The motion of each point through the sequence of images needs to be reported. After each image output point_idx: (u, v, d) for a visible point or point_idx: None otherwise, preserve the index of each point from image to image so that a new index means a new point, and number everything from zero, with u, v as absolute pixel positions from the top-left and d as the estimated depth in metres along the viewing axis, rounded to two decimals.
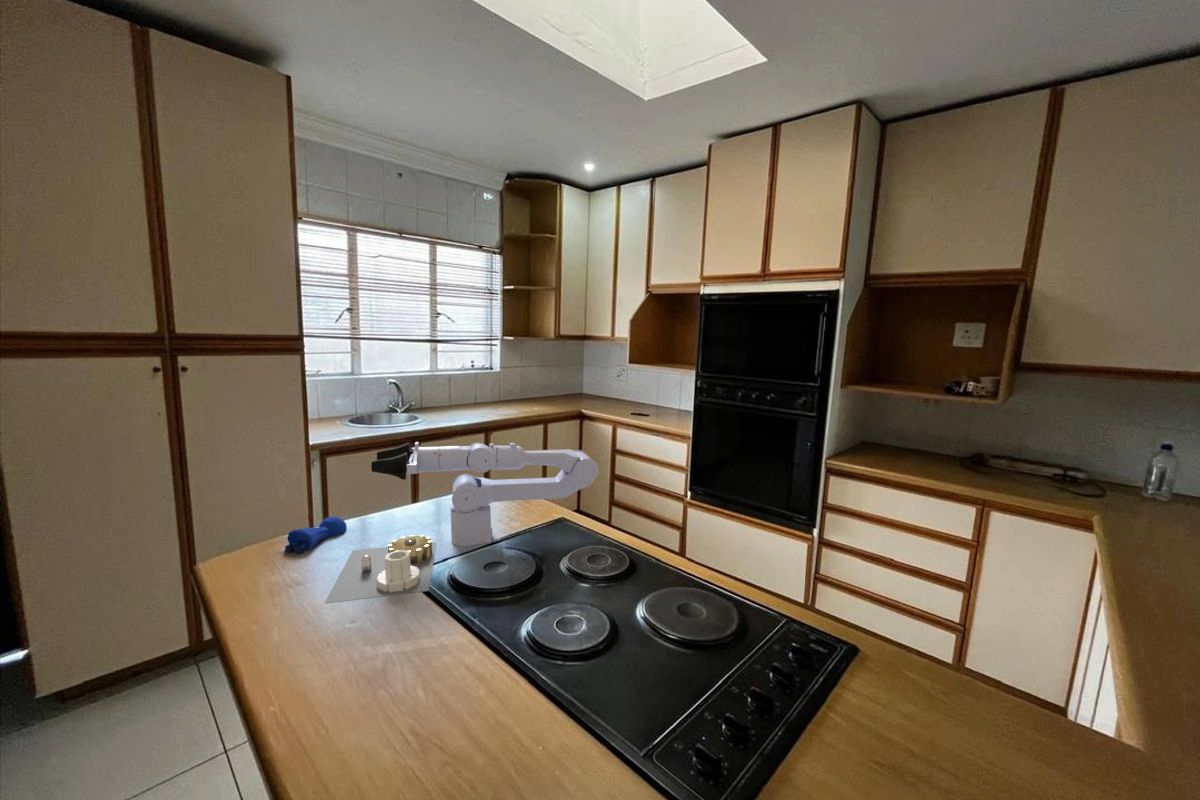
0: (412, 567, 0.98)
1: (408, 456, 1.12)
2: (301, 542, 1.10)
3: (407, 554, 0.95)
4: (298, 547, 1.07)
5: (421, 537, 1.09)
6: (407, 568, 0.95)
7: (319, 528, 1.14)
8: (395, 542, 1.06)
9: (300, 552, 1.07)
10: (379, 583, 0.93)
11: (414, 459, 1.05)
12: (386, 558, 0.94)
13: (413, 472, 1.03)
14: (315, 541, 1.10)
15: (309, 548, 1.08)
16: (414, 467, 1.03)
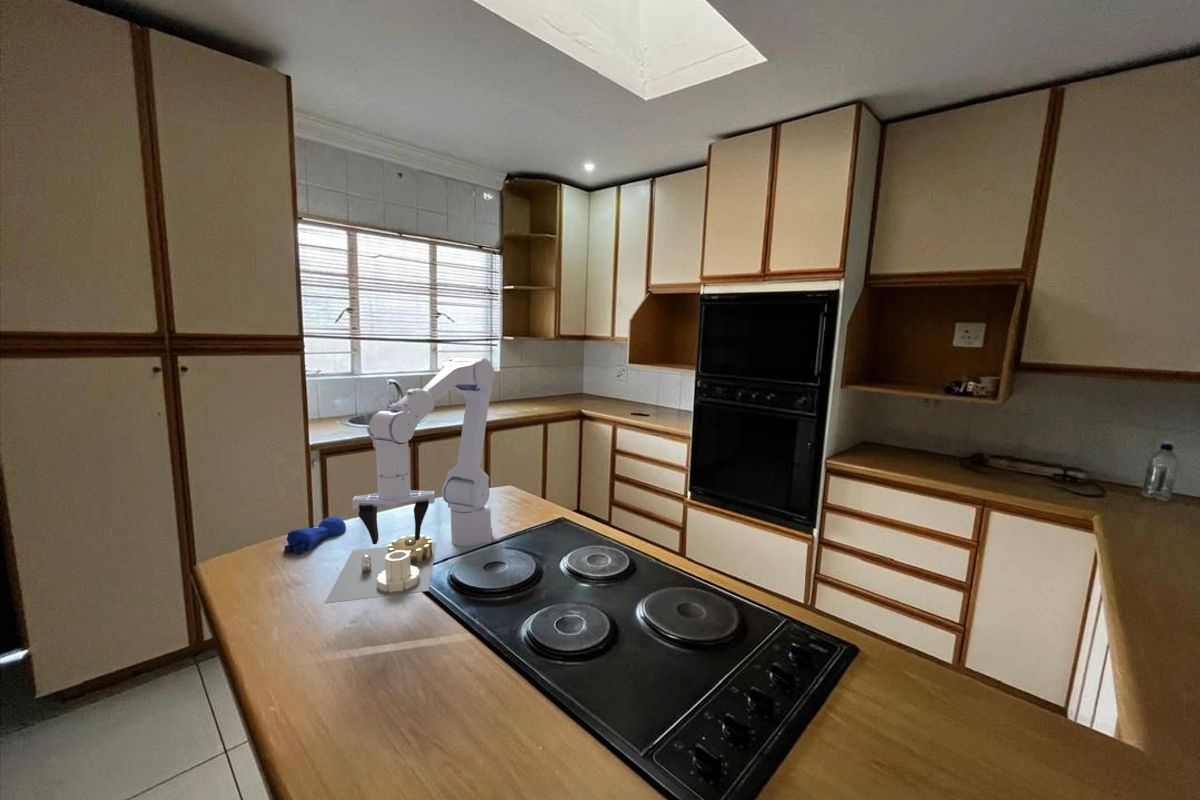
0: (412, 567, 0.98)
1: (374, 508, 0.93)
2: (300, 542, 1.10)
3: (407, 554, 0.95)
4: (298, 547, 1.07)
5: (421, 537, 1.09)
6: (407, 568, 0.95)
7: (318, 528, 1.13)
8: (395, 542, 1.06)
9: (300, 552, 1.07)
10: (379, 583, 0.93)
11: (420, 498, 0.93)
12: (386, 558, 0.94)
13: (434, 494, 0.96)
14: (315, 541, 1.10)
15: (309, 548, 1.08)
16: (433, 494, 0.95)
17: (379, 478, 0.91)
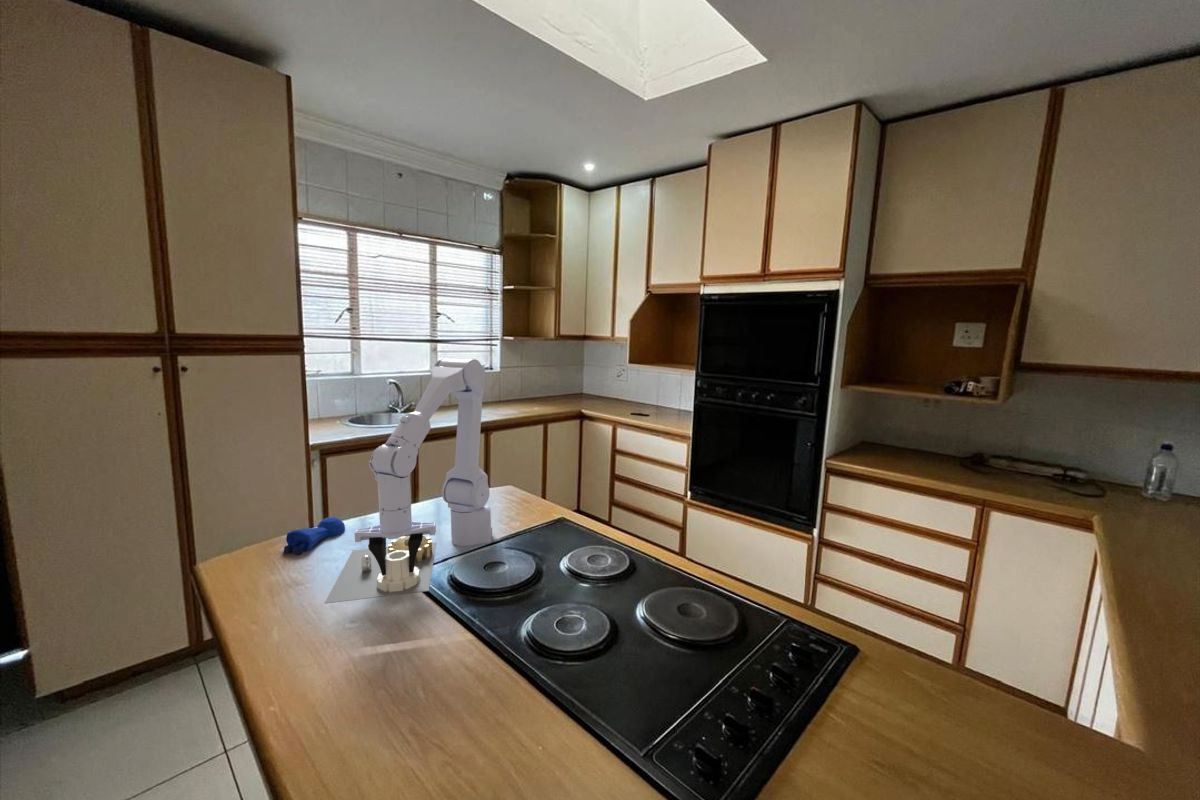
0: None
1: (384, 539, 0.94)
2: (300, 543, 1.10)
3: (407, 554, 0.95)
4: (297, 548, 1.06)
5: None
6: (407, 568, 0.95)
7: (318, 528, 1.13)
8: (395, 542, 1.06)
9: (299, 553, 1.07)
10: (379, 583, 0.93)
11: (421, 530, 0.94)
12: (386, 558, 0.94)
13: (435, 525, 0.97)
14: (314, 541, 1.10)
15: (308, 549, 1.08)
16: (435, 526, 0.96)
17: (381, 511, 0.91)
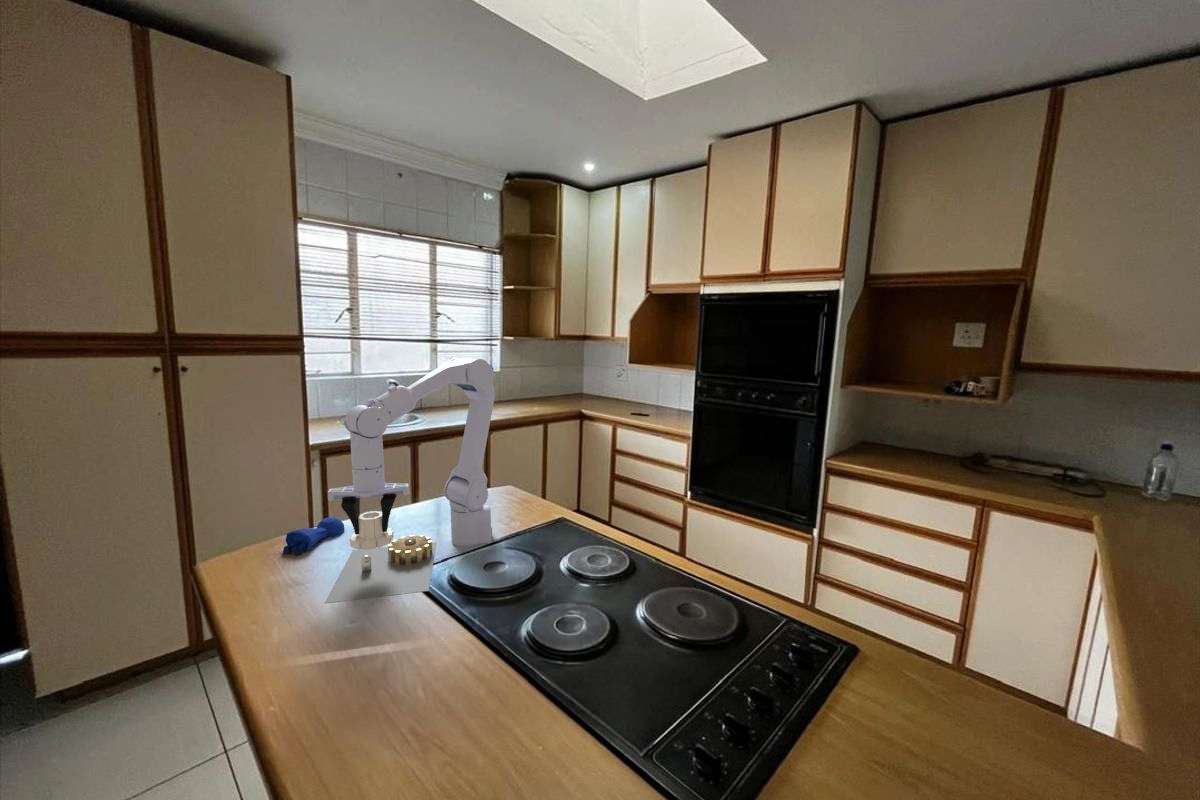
0: None
1: (357, 499, 0.96)
2: (299, 543, 1.10)
3: (380, 514, 0.97)
4: (297, 548, 1.06)
5: (421, 537, 1.09)
6: (380, 528, 0.97)
7: (317, 529, 1.13)
8: (395, 542, 1.06)
9: (299, 553, 1.06)
10: (352, 541, 0.95)
11: (394, 490, 0.96)
12: (359, 517, 0.96)
13: (408, 486, 0.99)
14: (313, 542, 1.09)
15: (308, 549, 1.08)
16: (408, 487, 0.98)
17: (354, 471, 0.93)
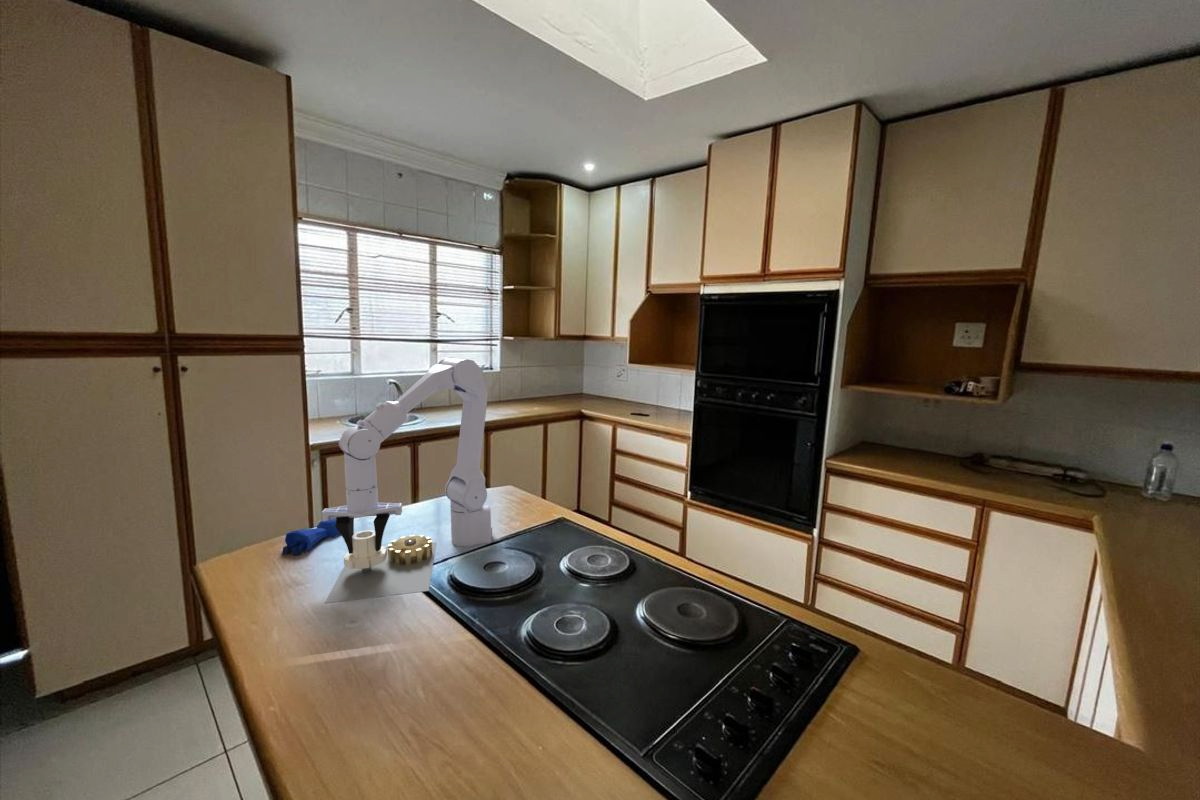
0: None
1: (351, 519, 0.98)
2: (299, 543, 1.10)
3: (374, 533, 0.99)
4: (296, 548, 1.06)
5: (421, 537, 1.09)
6: (373, 547, 0.98)
7: (317, 529, 1.13)
8: (395, 542, 1.06)
9: (298, 553, 1.06)
10: (346, 561, 0.96)
11: (387, 510, 0.98)
12: (353, 537, 0.97)
13: (401, 506, 1.00)
14: (313, 542, 1.09)
15: (307, 549, 1.08)
16: (401, 506, 0.99)
17: (347, 491, 0.95)
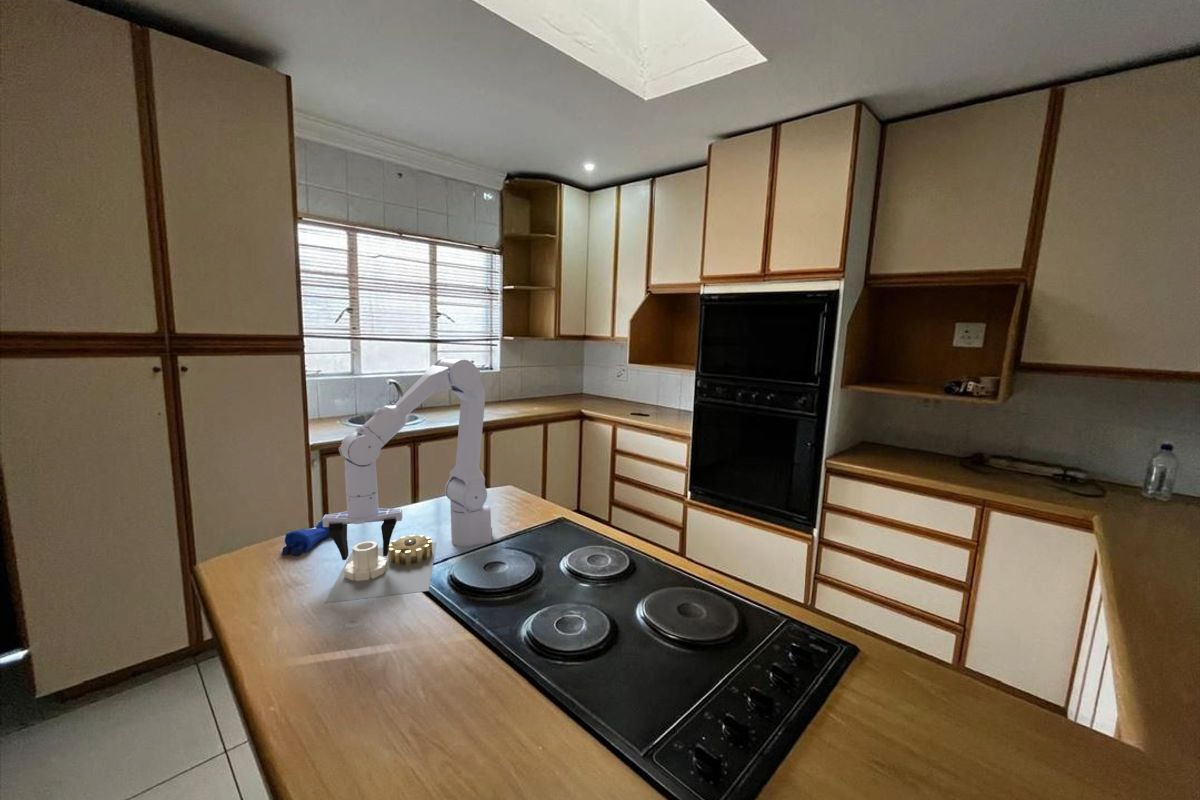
0: (380, 558, 1.02)
1: (344, 526, 0.98)
2: (298, 544, 1.09)
3: (374, 545, 0.99)
4: (296, 549, 1.06)
5: (421, 537, 1.09)
6: (374, 558, 0.99)
7: (316, 529, 1.13)
8: (395, 542, 1.06)
9: (298, 554, 1.06)
10: (346, 572, 0.97)
11: (387, 516, 0.98)
12: (353, 548, 0.98)
13: None
14: (313, 542, 1.09)
15: (307, 549, 1.08)
16: (401, 512, 1.00)
17: (348, 498, 0.95)
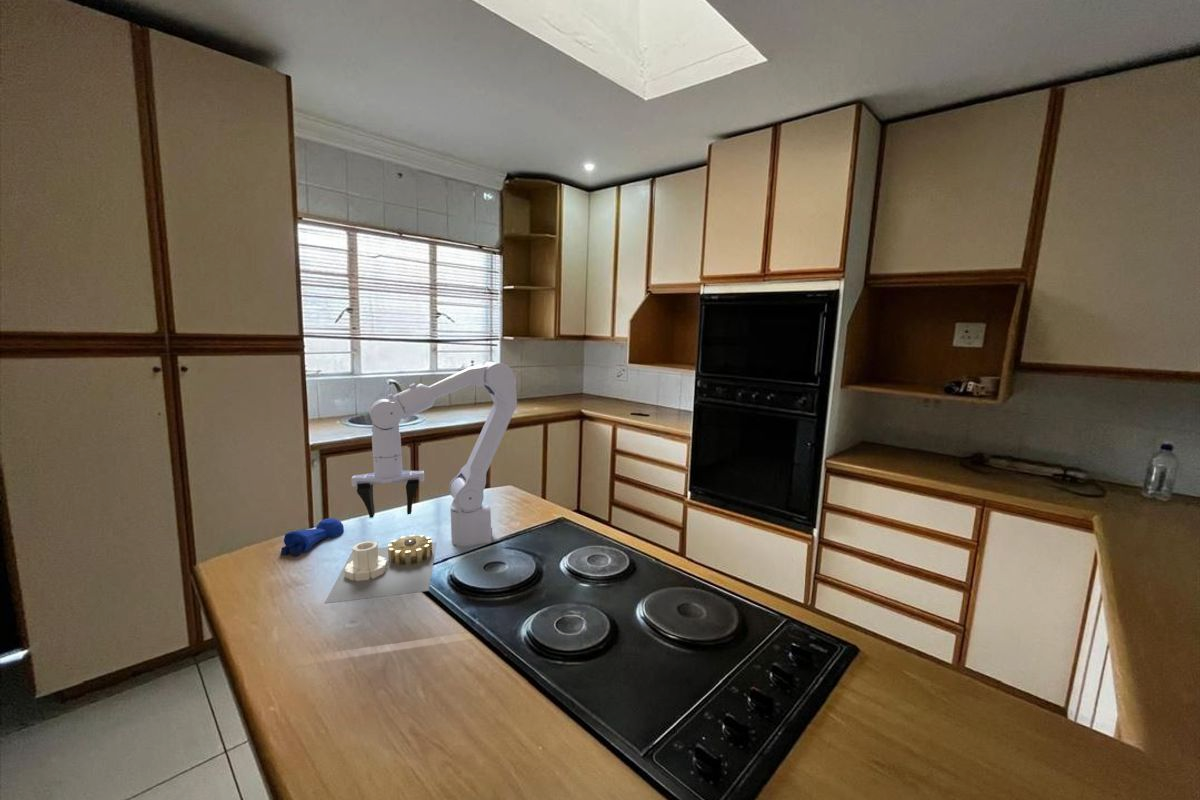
0: (380, 558, 1.02)
1: (371, 486, 1.05)
2: (297, 544, 1.09)
3: (374, 545, 0.99)
4: (294, 549, 1.06)
5: (421, 537, 1.09)
6: (374, 558, 0.99)
7: (316, 530, 1.13)
8: (395, 542, 1.06)
9: (296, 554, 1.06)
10: (346, 572, 0.97)
11: (411, 476, 1.05)
12: (353, 548, 0.98)
13: None
14: (311, 543, 1.09)
15: (305, 550, 1.07)
16: (423, 473, 1.07)
17: (375, 459, 1.03)
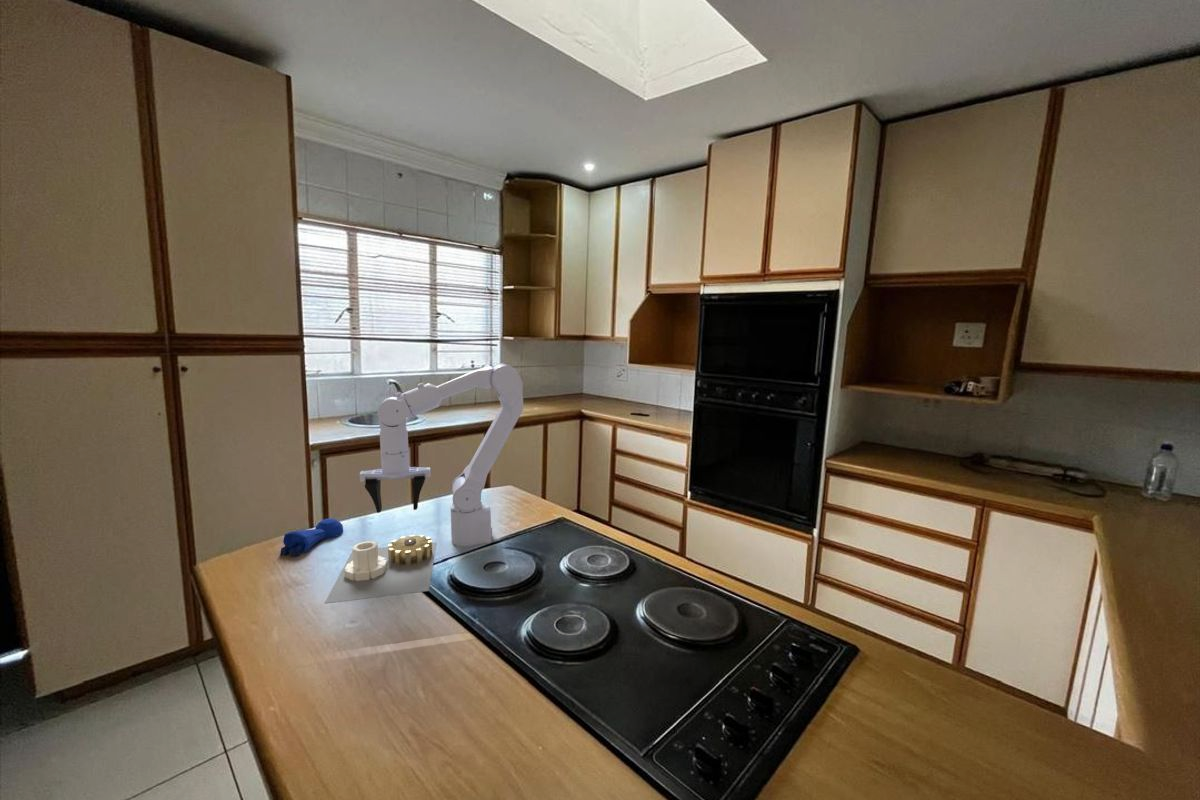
0: (380, 558, 1.02)
1: (378, 481, 1.08)
2: (297, 544, 1.09)
3: (374, 545, 0.99)
4: (294, 549, 1.06)
5: (421, 537, 1.09)
6: (374, 558, 0.99)
7: (315, 530, 1.12)
8: (395, 542, 1.06)
9: (296, 554, 1.06)
10: (346, 572, 0.97)
11: (417, 473, 1.08)
12: (353, 548, 0.98)
13: None
14: (311, 543, 1.09)
15: (305, 550, 1.07)
16: (429, 470, 1.10)
17: (382, 455, 1.05)
